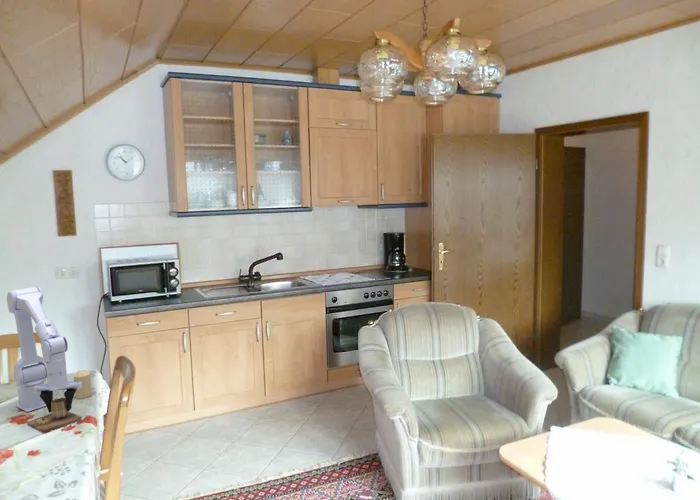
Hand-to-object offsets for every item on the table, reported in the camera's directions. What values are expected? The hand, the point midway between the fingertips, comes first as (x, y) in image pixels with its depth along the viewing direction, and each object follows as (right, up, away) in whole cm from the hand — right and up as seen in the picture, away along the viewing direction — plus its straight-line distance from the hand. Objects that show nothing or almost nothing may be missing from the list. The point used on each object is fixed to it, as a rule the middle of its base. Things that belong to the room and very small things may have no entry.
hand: (60, 410), depth 172 cm
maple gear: (0, -1, 0) cm, 1 cm away
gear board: (-1, -4, -1) cm, 4 cm away
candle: (-3, -2, +22) cm, 22 cm away
